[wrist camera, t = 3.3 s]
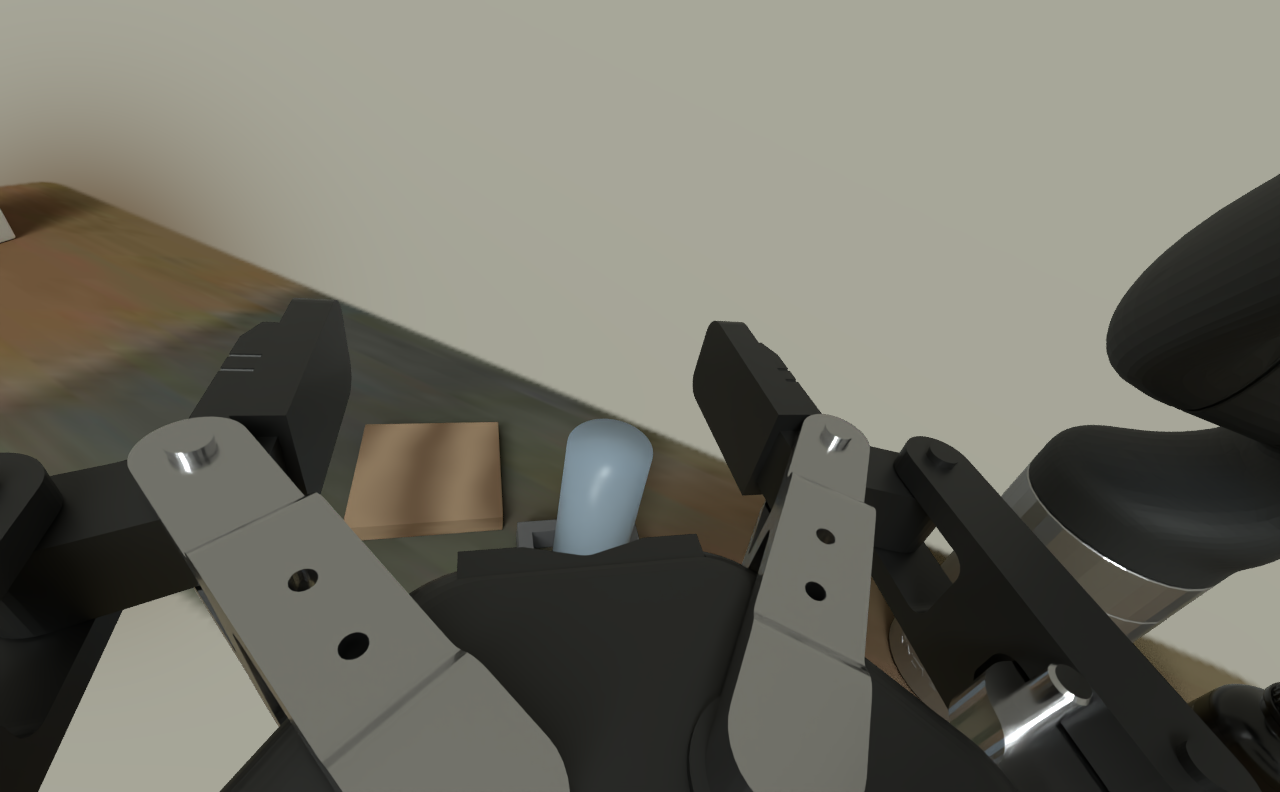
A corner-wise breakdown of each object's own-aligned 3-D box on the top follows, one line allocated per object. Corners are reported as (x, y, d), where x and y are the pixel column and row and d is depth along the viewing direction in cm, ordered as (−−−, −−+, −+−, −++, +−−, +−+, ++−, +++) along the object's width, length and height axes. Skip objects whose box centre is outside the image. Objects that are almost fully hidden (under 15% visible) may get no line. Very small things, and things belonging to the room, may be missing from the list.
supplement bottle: (1185, 874, 31) (1394, 810, 24) (1089, 744, 37) (1237, 660, 29) (1262, 850, 33) (1478, 784, 26) (1159, 730, 38) (1316, 647, 31)
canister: (609, 552, 42) (641, 418, 33) (622, 611, 38) (662, 477, 30) (544, 558, 40) (562, 419, 32) (552, 620, 37) (573, 481, 28)
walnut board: (497, 434, 50) (498, 422, 49) (502, 529, 42) (503, 517, 41) (367, 437, 47) (365, 424, 46) (345, 541, 38) (341, 528, 37)
